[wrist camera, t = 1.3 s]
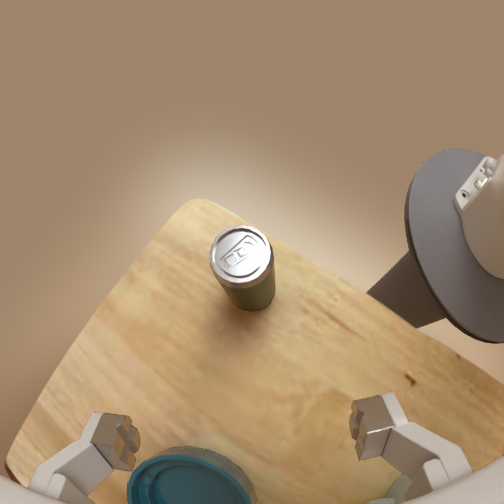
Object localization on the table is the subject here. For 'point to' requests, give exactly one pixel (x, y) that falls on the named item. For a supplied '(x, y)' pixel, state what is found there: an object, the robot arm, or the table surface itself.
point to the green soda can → (244, 267)
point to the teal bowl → (189, 479)
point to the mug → (395, 492)
